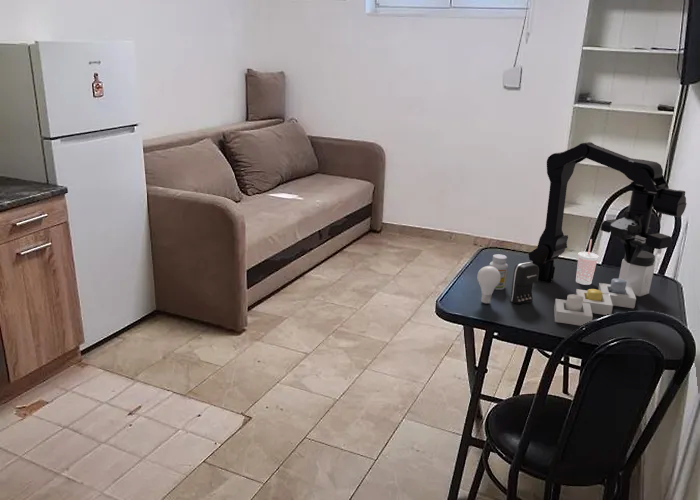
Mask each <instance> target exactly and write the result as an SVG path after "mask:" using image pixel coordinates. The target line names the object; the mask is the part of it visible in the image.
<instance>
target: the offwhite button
mask: <svg viewBox="0 0 700 500" xmlns="http://www.w3.org/2000/svg"><path fill="white" fill-rule="evenodd" d="M566 297H567V298H566V300H567V302H566V308H565V310H570V311H577V312H581V309H582V303H583V297H582V296H579V295H575V293H573V294H572V293H569V294H567V296H566Z"/></svg>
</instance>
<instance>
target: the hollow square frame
mask: <svg viewBox="0 0 700 500" xmlns="http://www.w3.org/2000/svg"><path fill="white" fill-rule="evenodd" d="M587 291H588V289H587V290H585V289H578V288H576V289H575V293H574V294H575V295H579V296H582V297H583V303H589V304H590V306H591V311H592V314H598V315H603V316H608V315H607V314H611V315H612V313H613V308H614V305H613V304H612V301H611V297H610V295H606V294H605V293H604V294H602V299H601V301H595V300H588V299H586V296H587Z"/></svg>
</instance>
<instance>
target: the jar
mask: <svg viewBox="0 0 700 500" xmlns="http://www.w3.org/2000/svg"><path fill="white" fill-rule="evenodd" d="M655 259H656V255H655V254H654V253H652V252H649V251H647V250H644V249H643V250H642V251H641V252H640V253H639V255H638V256H637V257H636V258H635V260H634V261H633V262H632V263H630V264H629V263H627V259H626V254H625V253H624V258H623V259H622V261H621V265H620V270H619V275H618V279H622V280H625V281H626V282H627V283H626V287H632V289H633V292H634V294H635V297H643V296H645V295H649V294H650V290H651V285H652V280H653V276H654V271H655V266H656V264H655Z"/></svg>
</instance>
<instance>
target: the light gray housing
mask: <svg viewBox="0 0 700 500" xmlns="http://www.w3.org/2000/svg"><path fill="white" fill-rule="evenodd" d="M610 286H611V283H602V282H599V283H598V289H597V290H600V291H602V292H603V294H604V293H605V294H606V295H610V297H611V301H612V304H613V307H614V306H615V307H622V308H629V309H635V306H636V301H637V296H635V294H634V292H633V289H632V287H626V288H625V293H624V294H617V293H610V292H609V291H610Z"/></svg>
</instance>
